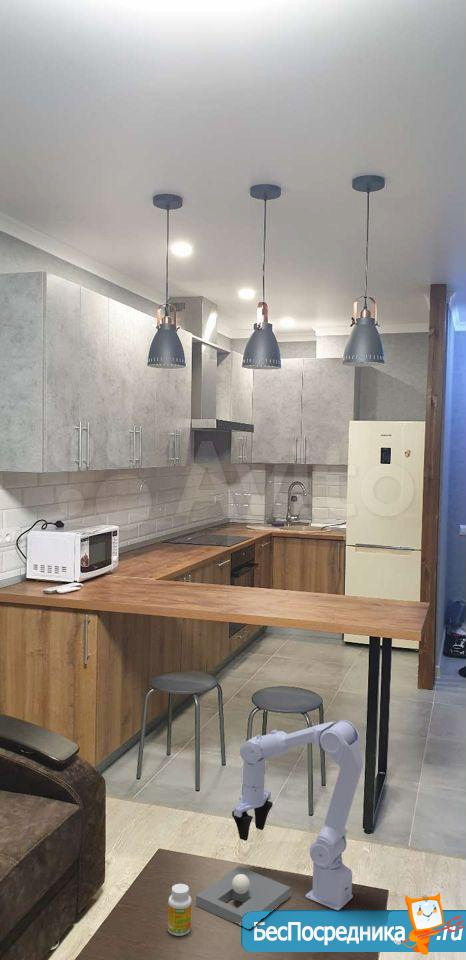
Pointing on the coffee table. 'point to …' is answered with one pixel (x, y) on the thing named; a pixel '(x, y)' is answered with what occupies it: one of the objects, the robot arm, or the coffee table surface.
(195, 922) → the coffee table surface
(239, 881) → the ball
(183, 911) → the supplement bottle
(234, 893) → the plate
